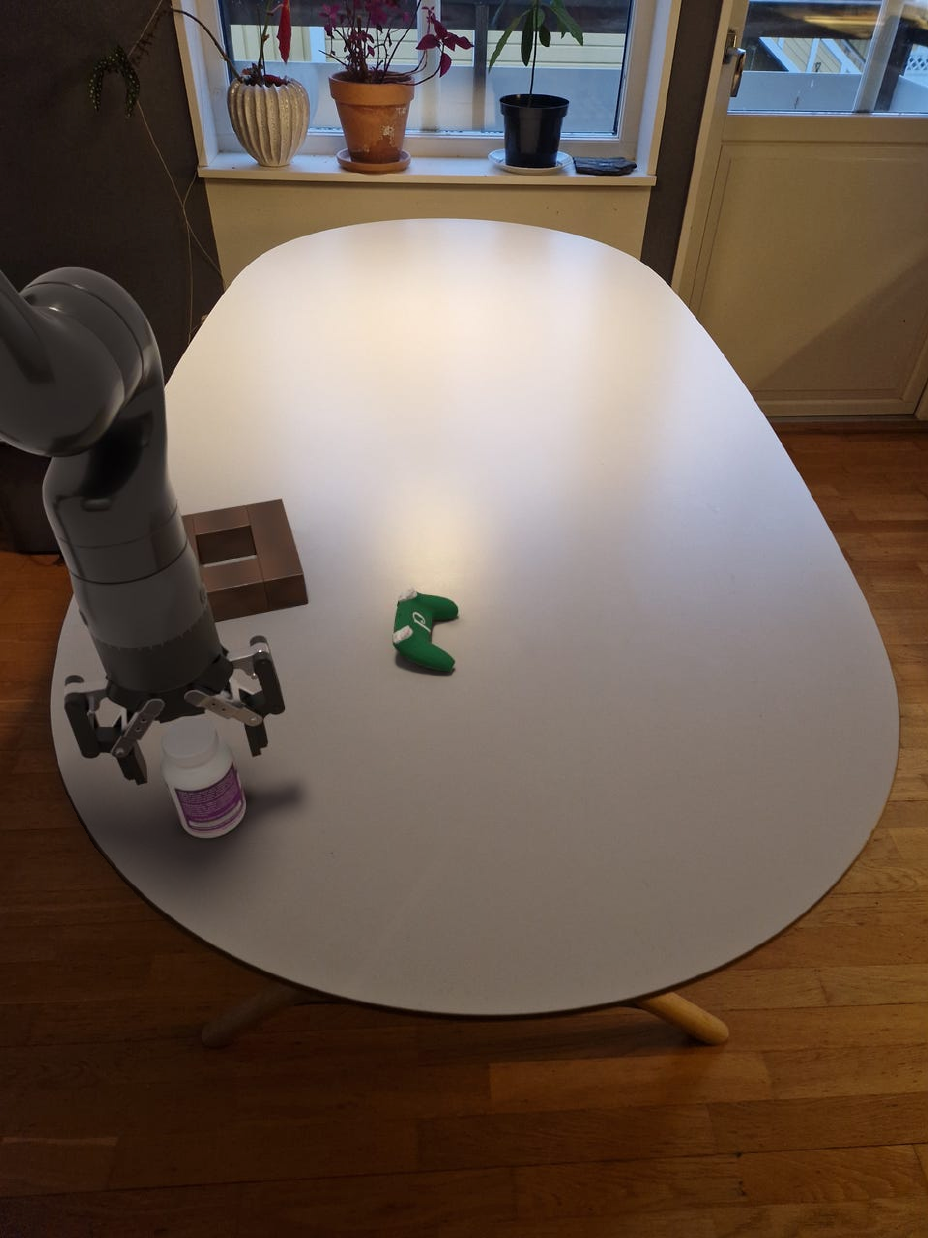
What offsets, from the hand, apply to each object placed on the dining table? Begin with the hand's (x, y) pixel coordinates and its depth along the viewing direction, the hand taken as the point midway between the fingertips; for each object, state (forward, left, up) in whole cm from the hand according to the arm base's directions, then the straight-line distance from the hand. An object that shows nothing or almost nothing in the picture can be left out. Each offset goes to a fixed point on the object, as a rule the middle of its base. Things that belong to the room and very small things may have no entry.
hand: (199, 761), depth 66 cm
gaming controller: (+22, +14, -7) cm, 27 cm away
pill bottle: (0, 0, -7) cm, 7 cm away
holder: (+5, +30, -6) cm, 31 cm away
